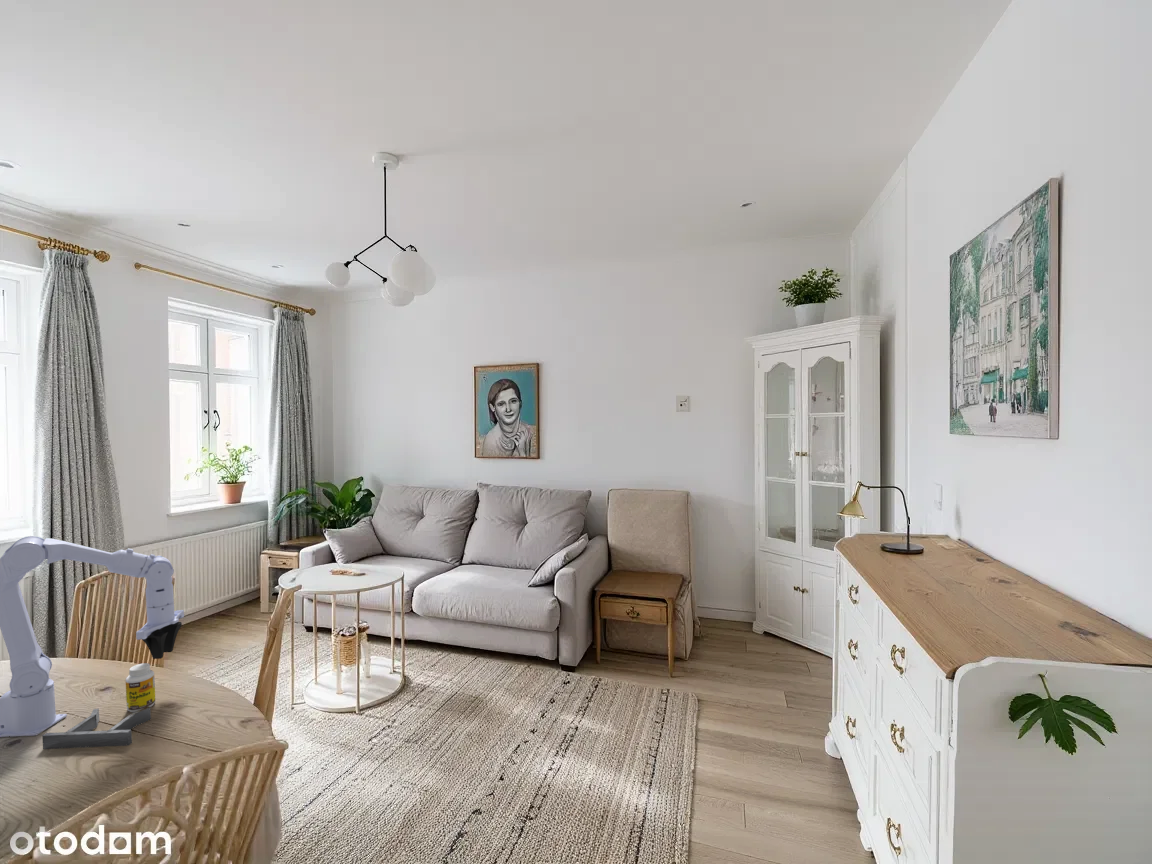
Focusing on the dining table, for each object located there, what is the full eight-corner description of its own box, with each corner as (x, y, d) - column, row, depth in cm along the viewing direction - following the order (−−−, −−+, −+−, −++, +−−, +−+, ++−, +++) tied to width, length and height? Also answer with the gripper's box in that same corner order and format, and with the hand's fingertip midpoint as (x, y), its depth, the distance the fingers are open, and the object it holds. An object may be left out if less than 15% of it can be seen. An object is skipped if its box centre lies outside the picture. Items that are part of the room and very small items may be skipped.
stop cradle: (43, 749, 117) (42, 735, 117) (84, 721, 128) (84, 708, 128) (128, 745, 118) (127, 732, 118) (163, 717, 129) (162, 705, 128)
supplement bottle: (125, 715, 130) (123, 674, 129) (128, 705, 134) (126, 665, 134) (154, 708, 133) (152, 667, 132) (156, 698, 138) (154, 659, 137)
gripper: (155, 614, 134) (158, 667, 134) (194, 593, 148) (196, 642, 149) (126, 614, 133) (129, 668, 134) (167, 594, 148) (170, 643, 148)
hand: (162, 654), depth 141 cm, fingers open, 3 cm apart
